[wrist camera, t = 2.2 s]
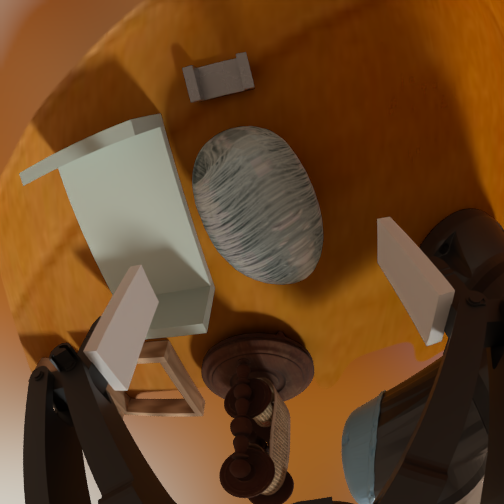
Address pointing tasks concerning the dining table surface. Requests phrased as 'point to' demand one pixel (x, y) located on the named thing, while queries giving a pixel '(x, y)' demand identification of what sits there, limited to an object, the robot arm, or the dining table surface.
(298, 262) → the grey oval rock
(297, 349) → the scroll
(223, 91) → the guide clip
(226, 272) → the dining table surface
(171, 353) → the frame
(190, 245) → the holder
